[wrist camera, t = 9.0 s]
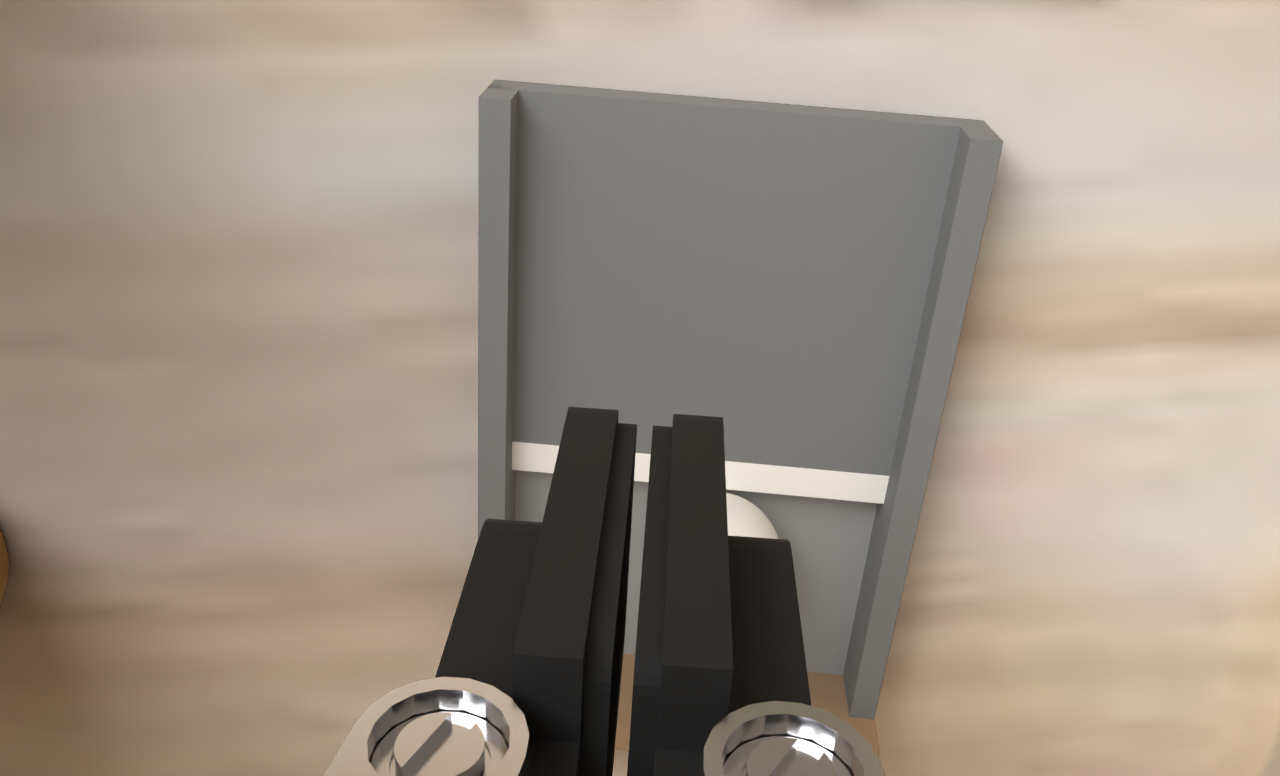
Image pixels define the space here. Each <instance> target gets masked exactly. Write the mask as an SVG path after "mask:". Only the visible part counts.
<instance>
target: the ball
mask: <svg viewBox="0 0 1280 776" xmlns="http://www.w3.org/2000/svg"><path fill="white" fill-rule="evenodd" d="M726 500H727V524H728V536H742V537H757V538H771V539H779V538H778V535H777V533H776V531H775V529H774V527H773V525H772V523H771V522H770V520H769V519H768V518H767V516H766V515H765V514H764V513H763V512H762V511H761V510H760V509H759V508H758V507H757V506H755V505H754V504H752V503H751V502H749V501H748V500H746V499H744V498H742V497H739V496H737V495H733V494H729V493H726Z"/></svg>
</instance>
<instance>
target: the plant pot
mask: <svg viewBox="0 0 1280 776" xmlns="http://www.w3.org/2000/svg"><path fill="white" fill-rule="evenodd" d="M8 576H9V558H8V554H7V549H6V546H5V542H4V539H3V536H2V533H1V531H0V605H1V602H2V599H3V595H4V592H5V589H6V586H7V582H8Z"/></svg>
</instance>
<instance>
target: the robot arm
mask: <svg viewBox="0 0 1280 776" xmlns="http://www.w3.org/2000/svg"><path fill="white" fill-rule="evenodd" d="M618 419H619V412H618V410H611V409H597V408H582V407H568V411H567V415H566V419H565V424H564V428H563V433H562V437H561V441H560V446H559V450H558V455H557V459H556V464H555V468H554V472H553V477H552V481H551V486H550V490H549V495H548V499H547V503H546V508H545V512H544V517H543V521H542V522H530V521H516V520H501V519H487V520H485V522H484V524H483V527H482V529H481V532H480V535H479V539H478V542H477V545H476V548H475V552H474V555H473V558H472V561H471V564H470V568H469V571H468V574H467V577H466V581H465V584H464V587H463V590H462V593H461V597H460V600H459V603H458V606H457V609H456V613H455V616H454V619H453V622H452V626H451V629H450V632H449V635H448V638H447V642H446V645H445V648H444V651H443V655H442V658H441V661H440V664H439V667H438V671H437V674H436V677H435V678H431V679H424V680H417V681H414V682H412V683H409V684H406V685H404V686H401V687H399V688H396V689H393V690H391V691H390V692H388V693H387V694H385V695H384V696H382V697H381V698H379V699H378V700H376V701H375V702H373V703H372V704H371V705H370V706H369V707H368V708H367V709H366V711H365V712H364V713H363V714H362V715H361V716H360V718H359V719H358V720H357V721H356V722H355V724H354V726H353V727H352V729H351V731H350V732H349V734H348V736H347V737H346V739H345V741H344V742H343V744H342V746H341V747H340V749H339V751H338V752H337V754H336V756H335V757H334V759H333V761H332V762H331V764H330V766H329V767H328V769H327V771H326V773H325V774H324V776H612V773H613V762H614V751H615V740H616V730H617V719H618V708H619V697H620V686H621V675H622V664H623V653H624V641H625V627H626V611H627V593H628V576H629V558H630V541H631V524H632V506H633V489H634V471H635V454H636V437H637V424H625V423H618ZM627 776H885V774H884V771H883V768H882V766H881V763H880V761H879V759H878V758H877V756H876V754H875V753H874V751H873V749H872V747H871V746H870V744H869V742H868V741H867V740H866V739H865V738H864V737H863V736H862V735H861V734H860V733H858V732H857V731H856V730H855V729H854V728H853V727H852V726H851V725H850V724H849V723H847V722H845V721H843V720H842V719H840V718H838V717H836V716H834V715H833V714H831V713H829V712H827V711H825V710H822V709H819V708H815V707H812V706H811V698H810V690H809V683H808V675H807V667H806V659H805V651H804V643H803V636H802V628H801V620H800V612H799V604H798V596H797V589H796V581H795V573H794V565H793V557H792V550H791V545H790V542H789V541H788V540H785V539H771V538H757V537H742V536H728V524H727V500H726V475H725V450H724V425H723V417H714V416H699V415H684V414H673V423H672V427H669V426H654V425H653V431H652V444H651V457H650V469H649V482H648V495H647V508H646V521H645V534H644V547H643V560H642V572H641V585H640V598H639V611H638V624H637V637H636V650H635V664H634V679H633V694H632V710H631V725H630V741H629V757H628V772H627Z"/></svg>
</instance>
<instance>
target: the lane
mask: <svg viewBox="0 0 1280 776" xmlns="http://www.w3.org/2000/svg"><path fill="white" fill-rule="evenodd" d="M1002 145H1003V141H1002V140H1001V139H1000V138H999V137H998V135H997V134H996V133H995V132H994V131H993V130H992V129H991V128H990V127H989V126H988V125H987V124H986V123H985V122H984V121H982V120H970V119H958V118H946V117H934V116H922V115H910V114H898V113H886V112H874V111H862V110H850V109H838V108H826V107H814V106H802V105H790V104H778V103H766V102H754V101H742V100H731V99H719V98H707V97H695V96H683V95H671V94H659V93H647V92H635V91H623V90H611V89H599V88H587V87H575V86H563V85H551V84H539V83H527V82H515V81H503V80H494V81H493V82H492V83H491V85H490V86H489V87H488V88H487V89H486V90H485V91H484V92H483V93H482V94H481V96H480V97H479V304H478V539H479V535H480V532H481V529H482V527H483V524H484V522H485V520H487V519H501V520H516V521H530V522H542V521H543V517H544V512H545V508H546V503H547V499H548V495H549V490H550V486H551V481H552V477H553V472H554V468H555V464H556V459H557V455H558V450H559V446H560V441H561V437H562V433H563V428H564V424H565V419H566V415H567V411H568V407H582V408H597V409H611V410H618V412H619V419H618V423H625V424H637V437H636V454H635V471H634V489H633V506H632V524H631V541H630V558H629V576H628V593H627V611H626V627H625V641H624V653H623V664H622V675H621V686H620V697H619V708H618V719H617V730H616V740H615V749H618V750H628V751H629V741H630V725H631V710H632V694H633V679H634V664H635V650H636V637H637V624H638V611H639V598H640V585H641V572H642V560H643V547H644V534H645V521H646V508H647V495H648V482H649V469H650V457H651V444H652V431H653V425H654V426H669V427H672V423H673V414H684V415H699V416H714V417H723V425H724V450H725V475H726V493H729V494H733V495H737V496H739V497H742V498H744V499H746V500H748V501H749V502H751V503H752V504H754V505H755V506H757V507H758V508H759V509H760V510H761V511H762V512H763V513H764V514H765V515H766V516H767V518H768V519H769V520H770V522H771V523H772V525H773V527H774V529H775V531H776V533H777V535H778V538H779V539H785V540H788V541H789V542H790V545H791V550H792V557H793V565H794V573H795V581H796V589H797V596H798V604H799V612H800V620H801V628H802V636H803V643H804V651H805V659H806V667H807V675H808V683H809V690H810V698H811V706H812V707H815V708H819V709H822V710H825V711H827V712H829V713H831V714H833V715H834V716H836V717H838V718H840V719H842V720H843V721H845V722H847V723H849V724H850V725H851V726H852V727H853V728H854V729H855V730H856V731H857V732H858V733H860V734H861V735H862V736H863V737H864V738H865V739H866V740H867V741H868V742H869V744H870V746H871V747H872V749H873V751H874V753H875V754H876V756H877V758H878V757H879V752H880V751H879V745H878V739H877V734H876V728H875V723H874V717H875V712H876V708H877V703H878V699H879V694H880V690H881V685H882V681H883V676H884V672H885V667H886V663H887V659H888V654H889V650H890V645H891V641H892V636H893V632H894V627H895V623H896V618H897V614H898V609H899V605H900V600H901V596H902V592H903V587H904V583H905V578H906V574H907V569H908V565H909V560H910V556H911V551H912V547H913V542H914V538H915V533H916V529H917V524H918V520H919V516H920V511H921V507H922V502H923V498H924V493H925V489H926V484H927V480H928V475H929V471H930V466H931V462H932V457H933V453H934V449H935V444H936V440H937V435H938V431H939V426H940V422H941V417H942V413H943V408H944V404H945V399H946V395H947V390H948V386H949V381H950V377H951V373H952V368H953V364H954V359H955V355H956V350H957V346H958V341H959V337H960V332H961V328H962V323H963V319H964V314H965V310H966V306H967V301H968V297H969V292H970V288H971V283H972V279H973V274H974V270H975V265H976V261H977V256H978V252H979V247H980V243H981V238H982V234H983V230H984V225H985V221H986V216H987V212H988V207H989V203H990V198H991V194H992V189H993V185H994V180H995V176H996V171H997V167H998V163H999V158H1000V154H1001V149H1002Z"/></svg>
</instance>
